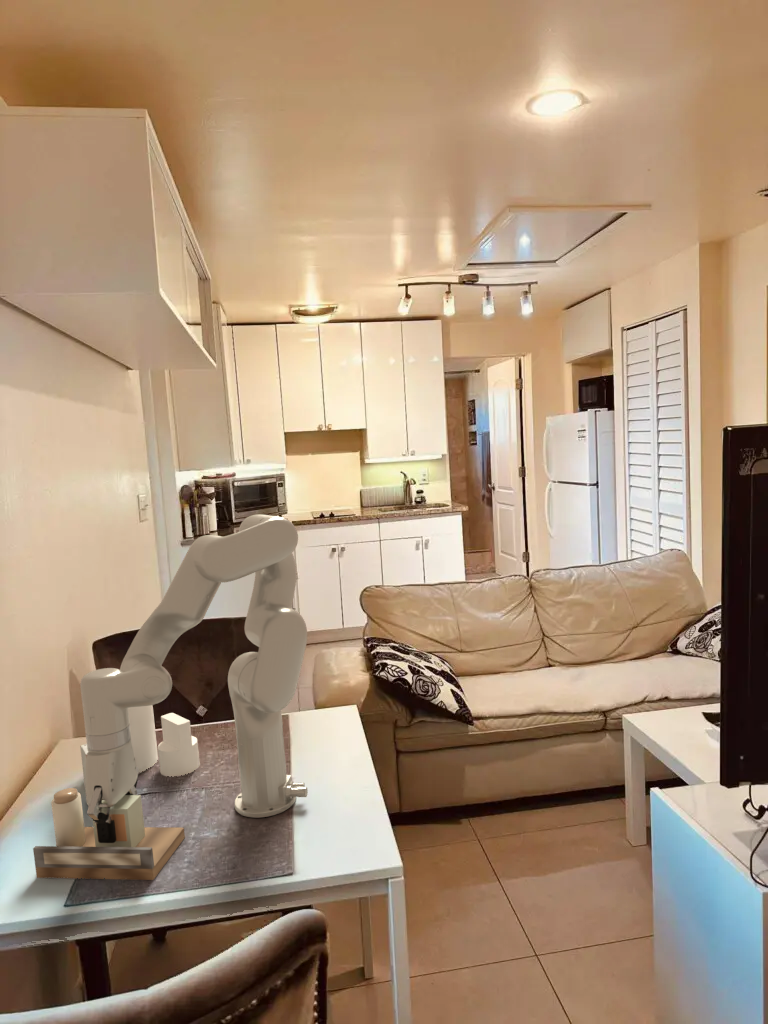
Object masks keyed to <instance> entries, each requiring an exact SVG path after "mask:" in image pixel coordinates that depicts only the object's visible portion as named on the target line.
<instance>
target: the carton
mask: <svg viewBox="0 0 768 1024" xmlns="http://www.w3.org/2000/svg"><path fill="white" fill-rule="evenodd" d="M102 804H108V803H107V801H105V800H102ZM101 812H102V813H104V814H107V807H102V811H101ZM112 820H114V822H115V831H116V841H115V842H114V843H99V842H98V834H97V825H96V823H94V821H93V820H92V825H93V826H92V827H93V828H94V837H95V846H96V847H136V846H137V845H138V843H139V842H140V841H141V840H142V839H143V838H144V836H145V830H144V827H145V820H144V812H143V803H142V795H141V794H137V795H124V796H123V797H122V798H121V799H120V800H119V801H118V802H117V803H116V804H115V805H114V807H113V814H112Z"/></svg>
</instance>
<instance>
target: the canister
mask: <svg viewBox="0 0 768 1024" xmlns="http://www.w3.org/2000/svg"><path fill="white" fill-rule="evenodd" d="M153 706H154V705H150V706H140V707H129V708H128V713H129V723H130V732H131V743H132V747H133V752H134V757H135V764H136V767H138V768H139V772H140V773H143V772H145V771H147V770H149V769H151V768H152V767H153V766H154V764H155V763H156V764H157V763H158V761H159V755H158V746H157V743H158V742H157V735H156V727H155V716H154V707H153ZM157 760H158V761H157ZM156 764H155V765H156ZM150 767H151V768H150ZM148 768H149V769H148ZM146 769H147V770H146ZM142 771H143V772H142ZM139 772H138V774H140V773H139Z"/></svg>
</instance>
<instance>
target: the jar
mask: <svg viewBox="0 0 768 1024" xmlns="http://www.w3.org/2000/svg"><path fill="white" fill-rule="evenodd" d="M50 804H51V811H52V812H51V813H52V821H53V827H54V838H55V845H56V846H70V847H82V846H83V845H84V844H85V842H86V837H85V828H84V827H85V821H84V820H85V819H84V811H83V804H82V796H81V793H80V792H78V789H77V788H76V787H67V788H63V789H61V790H59V791H56V792H55V793H54V795H53V799H52V800H51V802H50Z"/></svg>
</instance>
